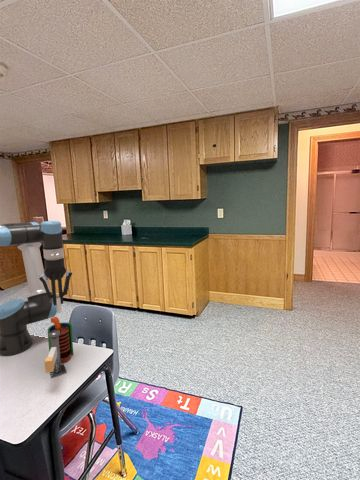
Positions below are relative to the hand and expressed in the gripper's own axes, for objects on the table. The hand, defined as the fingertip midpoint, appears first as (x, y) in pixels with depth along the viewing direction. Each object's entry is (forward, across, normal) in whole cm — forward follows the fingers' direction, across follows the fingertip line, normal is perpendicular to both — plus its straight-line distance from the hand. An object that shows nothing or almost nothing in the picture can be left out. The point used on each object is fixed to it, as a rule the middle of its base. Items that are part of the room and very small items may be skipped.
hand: (59, 311), depth 113 cm
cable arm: (+17, -6, -10) cm, 20 cm away
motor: (+26, 0, +6) cm, 26 cm away
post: (+26, -3, -3) cm, 26 cm away
